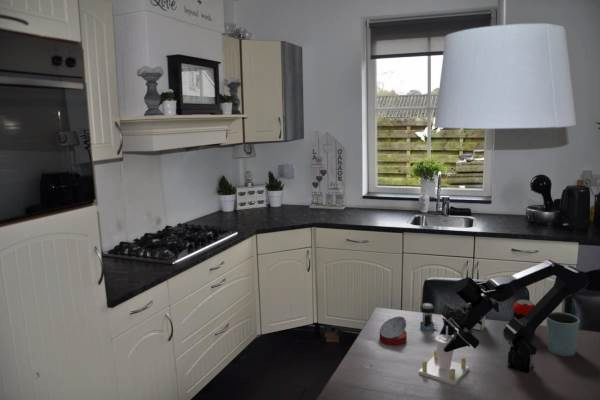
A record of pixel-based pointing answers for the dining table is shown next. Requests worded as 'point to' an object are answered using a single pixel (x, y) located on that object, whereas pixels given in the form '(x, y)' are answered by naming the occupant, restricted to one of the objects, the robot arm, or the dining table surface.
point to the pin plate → (444, 370)
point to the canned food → (394, 332)
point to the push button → (427, 317)
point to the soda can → (522, 308)
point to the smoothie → (443, 356)
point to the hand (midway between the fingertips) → (440, 346)
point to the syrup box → (478, 326)
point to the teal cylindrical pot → (562, 333)
